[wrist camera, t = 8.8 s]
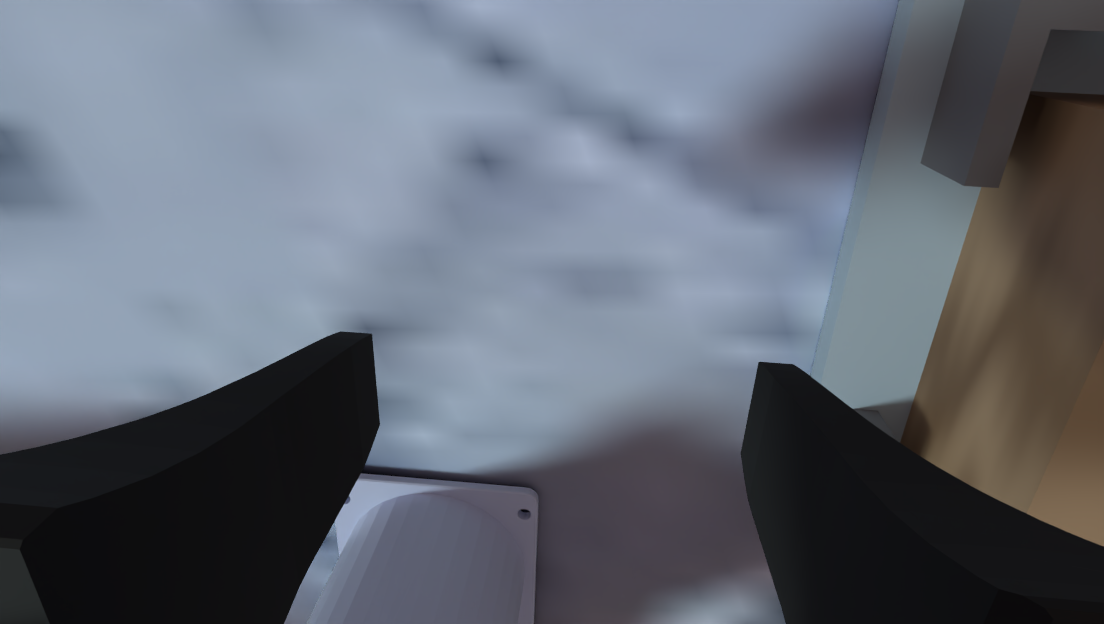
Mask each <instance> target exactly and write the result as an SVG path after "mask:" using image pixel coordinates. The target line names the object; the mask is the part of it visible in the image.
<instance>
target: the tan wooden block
mask: <svg viewBox="0 0 1104 624" xmlns="http://www.w3.org/2000/svg"><path fill="white" fill-rule="evenodd" d="M900 443H901V444H903V445H904V446H905V447H907V448H908V449H910V450H911V451H913V452H914V453H916V454H917V455H919V456H921V457H922V458H924V459H925V460H927V461H929V462H930V463H932V464H934V465H935V466H937V467H939V468H940V469H942V470H944V471H946V472H947V473H949V474H951V475H953V476H954V477H956V478H958V479H960V480H962V481H963V482H965V483H967V484H969V485H970V486H972V487H974V488H976V489H978V490H980V491H982V492H983V493H985V494H987V495H989V496H991V497H993V498H995V499H997V500H999V501H1001V502H1003V503H1005V504H1008V505H1010V506H1012V507H1014V508H1016V509H1018V510H1020V511H1022V512H1024V513H1026V514H1028V515H1031V516H1033V517H1035V518H1037V519H1039V520H1041V521H1043V522H1046V523H1048V524H1050V525H1053V526H1055V527H1057V528H1060V529H1062V530H1064V531H1066V532H1069V533H1071V534H1073V535H1076V536H1078V537H1081V538H1083V539H1086V540H1088V541H1091V542H1093V543H1096V544H1098V545H1101V546H1104V95H1100V94H1079V93H1058V92H1037V91H1030V94H1029V97H1028V100H1027V103H1026V106H1025V109H1024V112H1023V115H1022V118H1021V121H1020V124H1019V127H1018V130H1017V133H1016V136H1015V140H1014V143H1013V146H1012V149H1011V152H1010V155H1009V158H1008V161H1007V164H1006V167H1005V170H1004V173H1003V176H1002V179H1001V182H1000V185H999V188H990V187H981V190H980V193H979V196H978V199H977V202H976V206H975V209H974V212H973V215H972V218H971V221H970V224H969V228H968V231H967V234H966V237H965V240H964V243H963V246H962V250H961V253H960V256H959V259H958V262H957V265H956V268H955V271H954V275H953V278H952V281H951V284H950V287H949V290H948V293H947V297H946V300H945V303H944V306H943V309H942V312H941V315H940V319H939V322H938V325H937V328H936V331H935V334H934V337H933V341H932V344H931V347H930V350H929V353H928V356H927V359H926V363H925V366H924V369H923V372H922V375H921V378H920V381H919V384H918V388H917V391H916V394H915V397H914V400H913V403H912V406H911V410H910V413H909V416H908V419H907V422H906V425H905V428H904V432H903V435H902V438H901V441H900Z"/></svg>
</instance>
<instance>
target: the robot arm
mask: <svg viewBox="0 0 1104 624" xmlns="http://www.w3.org/2000/svg"><path fill="white" fill-rule="evenodd" d="M379 425H380V421H379V410H378V398H377V387H376V375H375V364H374V352H373V341H372V334H367V333H354V332H338V333H335V334H332V335H330V336H328V337H325V338H323V339H321V340H319V341H317V342H315V343H313V344H311V345H309V346H307V347H305V348H303V349H301V350H299V351H297V352H295V353H293V354H291V355H289V356H287V357H285V358H283V359H281V360H279V361H277V362H275V363H273V364H271V365H269V366H267V367H265V368H263V369H261V370H259V371H257V372H255V373H252V374H250V375H248V376H246V377H244V378H242V379H239V380H237V381H235V382H233V383H231V384H228V385H226V386H224V387H222V388H220V389H217V390H215V391H213V392H211V393H209V394H206V395H204V396H201V397H199V398H197V399H194V400H192V401H189V402H187V403H184V404H181V405H179V406H176V407H173V408H170V409H168V410H165V411H162V412H159V413H157V414H154V415H151V416H148V417H145V418H142V419H139V420H136V421H132V422H129V423H126V424H122V425H119V426H115V427H112V428H108V429H105V430H101V431H98V432H95V433H91V434H88V435H84V436H81V437H77V438H73V439H69V440H65V441H61V442H57V443H53V444H48V445H44V446H40V447H36V448H31V449H26V450H21V451H17V452H12V453H7V454H2V455H0V624H284V622H285V620H286V617H287V615H288V613H289V610H290V608H291V605H292V603H293V601H294V598H295V596H296V594H297V591H298V589H299V587H300V585H301V583H302V581H303V579H304V577H305V575H306V573H307V571H308V569H309V566H310V564H311V563H312V561H313V559H314V557H315V555H316V554H317V552H318V550H319V548H320V546H321V545H322V543H323V541H324V539H325V538H326V536H327V534H328V532H329V530H330V529H331V527H332V525H333V523H334V521H335V526H336V534H337V541H338V549H339V558H338V561H337V563H336V565H335V567H334V569H333V571H332V573H331V575H330V577H329V579H328V581H327V583H326V585H325V587H324V589H323V591H322V593H321V595H320V597H319V599H318V601H317V603H316V605H315V607H314V609H313V611H312V613H311V615H310V617H309V619H308V621H307V623H306V624H534V611H535V585H536V558H537V531H538V505H539V498H538V494H537V493H536V492H535V491H534V490H532V489H530V488H526V487H515V486H503V485H491V484H480V483H468V482H456V481H444V480H433V479H421V478H409V477H397V476H386V475H374V474H362V473H361V472H362V470H363V468H364V466H365V463H366V461H367V458H368V456H369V453H370V451H371V448H372V445H373V442H374V439H375V437H376V434H377V431H378V428H379ZM741 458H742V465H743V472H744V479H745V484H746V490H747V496H748V501H749V505H750V508H751V511H752V515H753V518H754V521H755V525H756V528H757V531H758V534H759V538H760V541H761V544H762V547H763V550H764V553H765V557H766V560H767V563H768V566H769V569H770V572H771V576H772V579H773V582H774V585H775V588H776V591H777V595H778V598H779V601H780V604H781V607H782V611H783V615H784V618H785V622H786V624H1104V546H1101V545H1098V544H1096V543H1093V542H1091V541H1088V540H1086V539H1083V538H1081V537H1078V536H1076V535H1073V534H1071V533H1069V532H1066V531H1064V530H1062V529H1060V528H1057V527H1055V526H1053V525H1050V524H1048V523H1046V522H1043V521H1041V520H1039V519H1037V518H1035V517H1033V516H1031V515H1028V514H1026V513H1024V512H1022V511H1020V510H1018V509H1016V508H1014V507H1012V506H1010V505H1008V504H1005V503H1003V502H1001V501H999V500H997V499H995V498H993V497H991V496H989V495H987V494H985V493H983V492H982V491H980V490H978V489H976V488H974V487H972V486H970V485H969V484H967V483H965V482H963V481H962V480H960V479H958V478H956V477H954V476H953V475H951V474H949V473H947V472H946V471H944V470H942V469H940V468H939V467H937V466H935V465H934V464H932V463H930V462H929V461H927V460H925V459H924V458H922V457H921V456H919V455H917V454H916V453H914V452H913V451H911V450H910V449H908V448H907V447H905V446H904V445H903V444H901V443H900V442H898V441H897V440H895V439H894V438H892V437H891V436H889V435H888V434H886V433H885V432H883V431H882V430H881V429H879V428H878V427H876V426H875V425H874V424H872V423H871V422H870V421H868V420H867V419H865V418H864V417H863V416H861V415H860V414H859V413H857V412H856V411H855V410H854V409H852V408H851V407H850V406H848V405H847V404H846V403H844V402H843V401H842V400H840V399H839V398H838V397H837V396H835V395H834V394H833V393H831V392H830V391H829V390H828V389H826V388H825V387H824V386H823V385H821V384H820V383H819V382H817V381H816V380H815V379H813V378H812V377H811V376H809V375H808V374H807V373H805V372H804V371H803V370H801V369H800V368H798V367H796V366H795V365H793V364H781V363H768V362H759V363H758V368H757V374H756V379H755V384H754V389H753V394H752V399H751V404H750V409H749V414H748V420H747V425H746V430H745V435H744V440H743V445H742V450H741ZM348 496H349V497H348ZM521 509H527V510H529V511H530V512H526V513H525V512H522V511H521Z"/></svg>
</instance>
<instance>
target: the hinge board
mask: <svg viewBox="0 0 1104 624" xmlns="http://www.w3.org/2000/svg"><path fill="white" fill-rule="evenodd" d="M1030 91H1037V92H1058V93H1079V94H1100V95H1104V0H899V3H898V8H897V12H896V16H895V20H894V24H893V29H892V33H891V37H890V41H889V46H888V50H887V54H886V58H885V63H884V67H883V71H882V75H881V80H880V84H879V88H878V92H877V96H876V101H875V105H874V109H873V113H872V118H871V122H870V126H869V130H868V135H867V139H866V143H865V147H864V152H863V156H862V160H861V164H860V168H859V173H858V177H857V181H856V185H855V190H854V194H853V198H852V202H851V207H850V211H849V215H848V219H847V223H846V228H845V232H844V236H843V240H842V245H841V249H840V253H839V257H838V262H837V266H836V270H835V274H834V279H833V283H832V287H831V291H830V295H829V300H828V304H827V308H826V312H825V317H824V321H823V325H822V329H821V334H820V338H819V342H818V346H817V350H816V355H815V359H814V363H813V367H812V372H811V377H812V378H813V379H815V380H816V381H817V382H819V383H820V384H821V385H823V386H824V387H825V388H826V389H828V390H829V391H830V392H831V393H833V394H834V395H835V396H837V397H838V398H839V399H840V400H842V401H843V402H844V403H846V404H847V405H848V406H850V407H851V408H852V409H854V410H855V411H856V412H857V413H859V414H860V415H861V416H863V417H864V418H865V419H867V420H868V421H870V422H871V423H872V424H874V425H875V426H876V427H878V428H879V429H881V430H882V431H883V432H885V433H886V434H888V435H889V436H891V437H892V438H894V439H895V440H897V441H898V442H900V441H901V438H902V435H903V432H904V428H905V425H906V422H907V419H908V416H909V413H910V410H911V406H912V403H913V400H914V397H915V394H916V391H917V388H918V384H919V381H920V378H921V375H922V372H923V369H924V366H925V363H926V359H927V356H928V353H929V350H930V347H931V344H932V341H933V337H934V334H935V331H936V328H937V325H938V322H939V319H940V315H941V312H942V309H943V306H944V303H945V300H946V297H947V293H948V290H949V287H950V284H951V281H952V278H953V275H954V271H955V268H956V265H957V262H958V259H959V256H960V253H961V250H962V246H963V243H964V240H965V237H966V234H967V231H968V228H969V224H970V221H971V218H972V215H973V212H974V209H975V206H976V202H977V199H978V196H979V193H980V190H981V187H990V188H999V185H1000V182H1001V179H1002V176H1003V173H1004V170H1005V167H1006V164H1007V161H1008V158H1009V155H1010V152H1011V149H1012V146H1013V143H1014V140H1015V136H1016V133H1017V130H1018V127H1019V124H1020V121H1021V118H1022V115H1023V112H1024V109H1025V106H1026V103H1027V100H1028V97H1029V94H1030Z"/></svg>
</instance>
